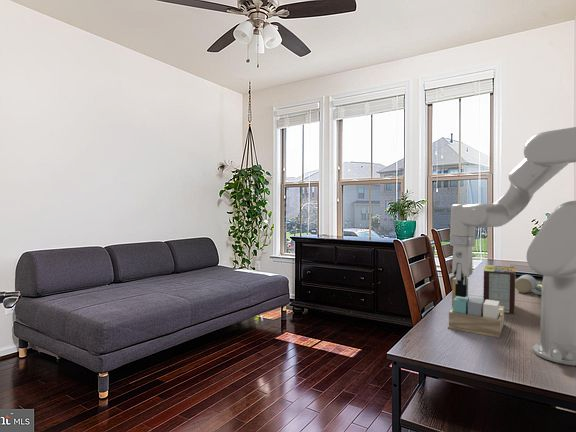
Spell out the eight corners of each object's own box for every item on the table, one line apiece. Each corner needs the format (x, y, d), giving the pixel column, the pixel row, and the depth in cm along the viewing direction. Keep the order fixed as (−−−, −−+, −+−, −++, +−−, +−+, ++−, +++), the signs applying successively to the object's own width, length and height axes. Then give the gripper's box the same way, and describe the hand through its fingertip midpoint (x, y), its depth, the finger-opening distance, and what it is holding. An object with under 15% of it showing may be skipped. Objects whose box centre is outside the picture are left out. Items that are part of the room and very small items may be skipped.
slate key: (480, 319, 115) (481, 303, 115) (467, 317, 117) (467, 301, 117) (483, 314, 121) (484, 299, 121) (470, 312, 123) (471, 297, 123)
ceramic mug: (513, 292, 170) (514, 275, 169) (518, 289, 175) (518, 273, 175) (540, 296, 162) (541, 279, 162) (544, 293, 168) (545, 277, 168)
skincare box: (456, 306, 144) (456, 276, 144) (468, 308, 141) (468, 277, 141) (451, 310, 139) (452, 278, 139) (463, 312, 136) (464, 280, 136)
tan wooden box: (499, 337, 110) (500, 317, 110) (447, 328, 118) (448, 309, 118) (503, 323, 123) (504, 305, 123) (456, 316, 132) (457, 298, 131)
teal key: (465, 316, 118) (465, 301, 117) (452, 314, 120) (453, 299, 120) (469, 311, 123) (469, 297, 123) (456, 309, 125) (457, 295, 125)
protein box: (513, 305, 147) (514, 266, 147) (514, 314, 134) (515, 272, 134) (484, 301, 153) (485, 264, 152) (482, 310, 139) (483, 270, 139)
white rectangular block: (496, 322, 113) (497, 306, 112) (483, 319, 115) (483, 304, 115) (499, 316, 118) (499, 301, 118) (485, 314, 120) (486, 299, 120)
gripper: (471, 243, 113) (469, 302, 113) (478, 240, 125) (476, 293, 126) (445, 242, 117) (444, 299, 118) (454, 238, 129) (453, 290, 130)
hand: (460, 295), depth 122 cm, fingers closed
